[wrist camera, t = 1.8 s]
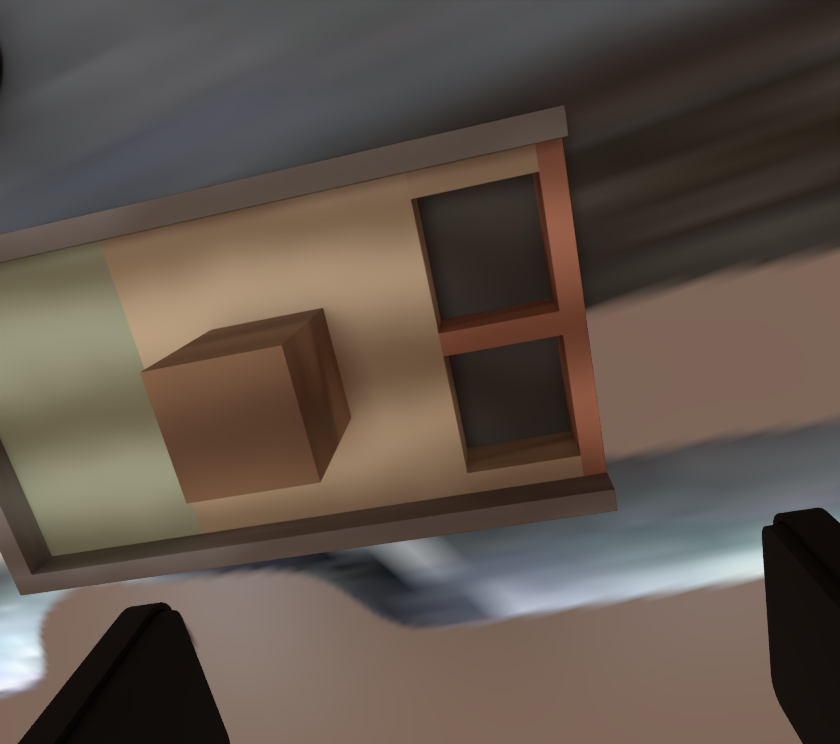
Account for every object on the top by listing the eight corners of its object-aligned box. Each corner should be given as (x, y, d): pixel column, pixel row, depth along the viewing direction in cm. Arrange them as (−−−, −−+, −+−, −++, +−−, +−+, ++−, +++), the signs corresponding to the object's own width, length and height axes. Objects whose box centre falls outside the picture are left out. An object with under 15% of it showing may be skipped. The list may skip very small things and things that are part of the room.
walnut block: (210, 329, 26) (139, 372, 21) (323, 307, 26) (281, 345, 20) (244, 436, 28) (186, 503, 22) (351, 417, 27) (320, 482, 21)
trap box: (-45, 252, 29) (-133, 265, 25) (547, 116, 26) (564, 105, 21) (77, 542, 34) (20, 595, 29) (596, 462, 30) (617, 510, 26)
